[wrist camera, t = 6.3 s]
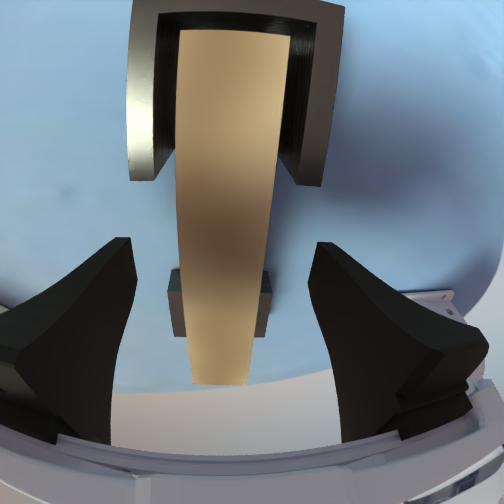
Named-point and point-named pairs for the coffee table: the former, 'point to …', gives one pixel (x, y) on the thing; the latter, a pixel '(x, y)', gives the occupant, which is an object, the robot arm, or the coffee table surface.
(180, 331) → the rest block
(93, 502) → the robot arm
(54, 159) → the coffee table surface
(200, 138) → the rail
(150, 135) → the dark grey open box
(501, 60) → the coffee table surface
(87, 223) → the coffee table surface
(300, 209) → the coffee table surface
